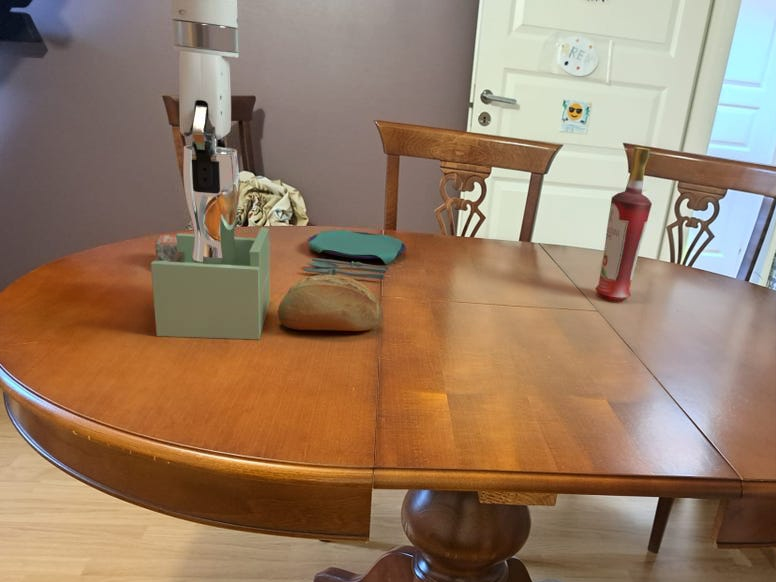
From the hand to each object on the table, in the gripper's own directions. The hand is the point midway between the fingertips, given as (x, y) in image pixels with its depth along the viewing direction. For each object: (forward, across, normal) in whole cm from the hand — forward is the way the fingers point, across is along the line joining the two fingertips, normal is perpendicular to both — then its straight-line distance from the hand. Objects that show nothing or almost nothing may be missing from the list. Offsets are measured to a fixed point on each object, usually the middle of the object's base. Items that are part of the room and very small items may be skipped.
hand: (211, 186), depth 89 cm
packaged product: (+19, -26, -5) cm, 33 cm away
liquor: (+19, -19, +69) cm, 74 cm away
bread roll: (+19, +3, +16) cm, 25 cm away
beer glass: (+10, 0, 0) cm, 10 cm away
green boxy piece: (+19, 0, 0) cm, 19 cm away
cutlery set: (+19, -36, +20) cm, 45 cm away
